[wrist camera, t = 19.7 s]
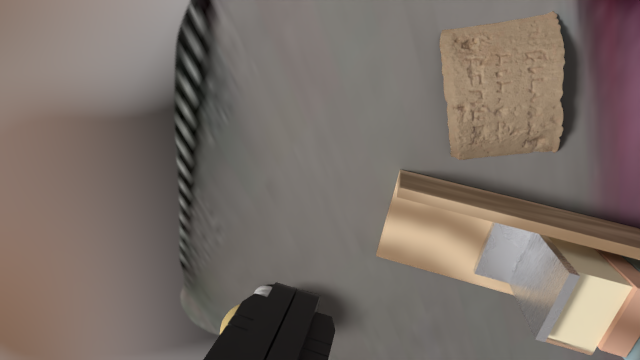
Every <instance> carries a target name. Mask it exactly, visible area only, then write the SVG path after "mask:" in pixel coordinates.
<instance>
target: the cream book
mask: <svg viewBox="0 0 640 360" xmlns="http://www.w3.org/2000/svg"><path fill="white" fill-rule="evenodd" d="M548 238H549V239H550V240H551V241H552V242H553V244H554V245H555V246H556V247H557V248H558V250H559V251H560V252H561V253H562V255H563V256H564V257H565V258H566V259H567V261H568V262H569V263H570V264H571V265H572V267H573V268H574V269H575V270H576V271H577V273H578V274H579V275H580V278H579V280H578V282H577V283H576V285H575V287H574V289H573V291H572V293H571V295H570V297H569V298H568V300H567V302H566V304H565V306H564V308H563V310H562V312H561V313H560V315H559V317H558V319H557V321H556V323H555V325H554V327H553V328H552V330H551V332H550V334H549V336H548V338H547V340H546V342H548V343H552V344H555V345H558V346H562V347H565V348H568V349H572V350H575V351H579V352H582V353H585V354H589V355H592V354H593V352H594V351H595V349H596V347H597V346H598V344H599V342H600V341H601V339H602V337H603V336H604V334H605V332H606V331H607V329H608V327H609V326H610V324H611V322H612V321H613V319H614V317H615V316H616V314H617V312H618V311H619V309H620V307H621V306H622V304H623V302H624V301H625V299H626V297H627V296H628V294H629V292H630V291H631V289H632V287H633V286H632V285H631V284H629V283H628V282H627V281H626V280H625V279H624V278H623V277H622V276H621V275H620V274H619V273H618V272H617V271H616V270H615V269H614V268H613V267H612V266H611V265H610V264H609V263H608V262H607V261H606V260H605V259H604V258H603V257H602V256H601V255H600V254H599V253H598V252H597V251H596V250H595V249H594V248H592V247H588V246H584V245H580V244H576V243H572V242H568V241H564V240H561V239H557V238H553V237H549V236H548Z"/></svg>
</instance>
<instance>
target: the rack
mask: <svg viewBox="0 0 640 360" xmlns="http://www.w3.org/2000/svg"><path fill="white" fill-rule="evenodd" d="M493 222H495V223H499V224H503V225H506V226H510V227H514V228H518V229H522V230H526V231H530V232H534V233H537V234H541V235H545V236H549V237H553V238H557V239H561V240H564V241H568V242H572V243H576V244H580V245H584V246H588V247H592V248H594V249H595V250H596V251H597V252H598V253H599V254H600V255H601V256H602V257H603V258H604V259H605V260H606V261H607V262H608V263H609V264H610V265H611V266H612V267H613V268H614V269H615V270H616V271H617V272H618V273H619V274H620V275H621V276H622V277H623V278H624V279H625V280H626V281H627V282H628V283H629V284H631V285H632V286H633V287H632V289H631V291H630V292H629V294H628V296H627V297H626V299H625V301H624V302H623V304H622V306H621V307H620V309H619V311H618V312H617V314H616V316H615V317H614V319H613V321H612V322H611V324H610V326H609V327H608V329H607V331H606V332H605V334H604V336H603V337H602V339H601V341H600V342H599V344H598V347H599V349H600V350H602V351H605V352H609V353H612V354H615V355H619V356H622V357H623V358H624V360H640V229H639V228H635V227H631V226H627V225H623V224H619V223H615V222H611V221H607V220H603V219H599V218H595V217H591V216H587V215H583V214H578V213H574V212H570V211H566V210H562V209H558V208H554V207H550V206H546V205H542V204H538V203H534V202H530V201H526V200H522V199H518V198H514V197H510V196H506V195H502V194H498V193H493V192H489V191H485V190H481V189H477V188H473V187H469V186H465V185H461V184H457V183H453V182H449V181H445V180H441V179H437V178H433V177H429V176H425V175H421V174H417V173H412V172H408V171H404V170H400V172H399V176H398V179H397V183H396V186H395V190H394V193H393V197H392V200H391V204H390V207H389V211H388V214H387V218H386V221H385V225H384V228H383V232H382V235H381V239H380V242H379V246H378V249H377V254H376V256H378V257H382V258H385V259H389V260H392V261H396V262H399V263H403V264H406V265H410V266H413V267H417V268H420V269H424V270H427V271H431V272H434V273H438V274H441V275H445V276H449V277H452V278H456V279H459V280H463V281H466V282H470V283H473V284H477V285H480V286H484V287H487V288H491V289H494V290H498V291H501V292H505V293H508V294H512V295H514V293H513V291H512V289H511V287H510V285H509V283H506V282H502V281H498V280H495V279H491V278H488V277H484V276H481V275H477V274H474V271H473V270H474V267H475V265H476V262H477V260H478V257H479V255H480V252H481V250H482V247H483V245H484V243H485V240H486V238H487V235H488V233H489V230H490V228H491V225H492V223H493Z"/></svg>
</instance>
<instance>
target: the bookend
mask: <svg viewBox="0 0 640 360" xmlns="http://www.w3.org/2000/svg"><path fill="white" fill-rule="evenodd" d="M473 271H474V274H477V275H481V276H484V277H488V278H491V279H495V280H498V281H502V282H506V283H509V285H510V287H511V289H512V291H513V293H514V295H515V298H516V300H517V302H518V304H519V306H520V308H521V310H522V312H523V314H524V316H525V319H526V321H527V323H528V325H529V327H530V329H531V331H532V333H533V335H534V337H535V339H536V340H540V341H543V342H546V340H547V338H548V336H549V334H550V332H551V330H552V328H553V327H554V325H555V323H556V321H557V319H558V317H559V315H560V313H561V312H562V310H563V308H564V306H565V304H566V302H567V300H568V298H569V297H570V295H571V293H572V291H573V289H574V287H575V285H576V283H577V282H578V280H579V278H580V275H579V274H578V273H577V271H576V270H575V269H574V268H573V267H572V265H571V264H570V263H569V262H568V261H567V259H566V258H565V257H564V256H563V255H562V253H561V252H560V251H559V250H558V248H557V247H556V246H555V245H554V244H553V242H552V241H551V240H550V239H549V238H548V236H545V235H541V234H537V233H534V232H530V231H526V230H522V229H518V228H514V227H510V226H506V225H503V224H499V223H495V222H493V223H492V225H491V228H490V230H489V233H488V235H487V238H486V240H485V243H484V245H483V247H482V250H481V252H480V255H479V257H478V260H477V262H476V265H475V267H474V270H473Z"/></svg>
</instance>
